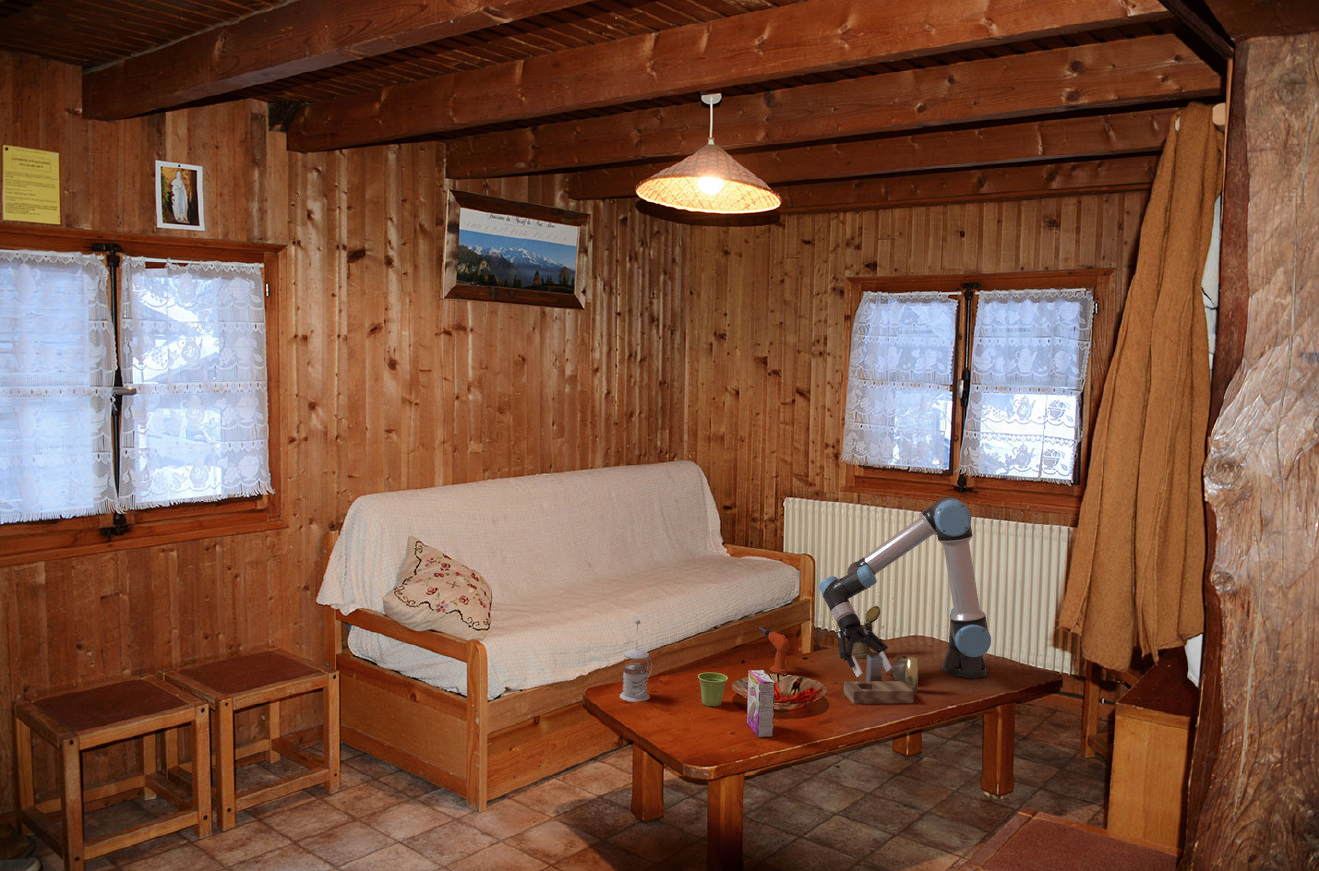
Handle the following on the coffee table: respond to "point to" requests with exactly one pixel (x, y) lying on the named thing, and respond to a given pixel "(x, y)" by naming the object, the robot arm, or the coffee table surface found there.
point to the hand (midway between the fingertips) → (874, 672)
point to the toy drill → (778, 649)
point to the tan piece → (860, 648)
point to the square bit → (874, 668)
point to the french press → (635, 676)
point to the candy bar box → (760, 703)
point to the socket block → (878, 692)
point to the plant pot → (712, 688)
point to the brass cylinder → (912, 673)
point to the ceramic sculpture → (899, 669)
